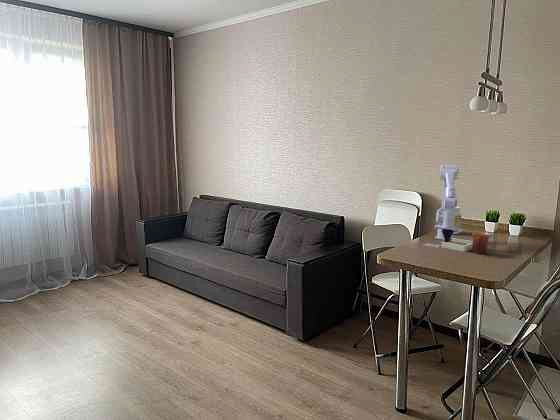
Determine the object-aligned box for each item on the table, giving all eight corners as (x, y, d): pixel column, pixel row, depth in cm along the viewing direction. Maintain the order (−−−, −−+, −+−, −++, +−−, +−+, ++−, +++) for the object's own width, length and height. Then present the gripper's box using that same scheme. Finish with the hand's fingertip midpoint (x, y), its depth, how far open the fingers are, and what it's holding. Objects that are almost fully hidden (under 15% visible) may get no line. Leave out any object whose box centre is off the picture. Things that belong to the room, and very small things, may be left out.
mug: (472, 249, 231) (474, 231, 229) (490, 252, 226) (492, 233, 224) (466, 254, 221) (468, 234, 220) (485, 257, 216) (487, 237, 215)
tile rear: (449, 245, 242) (450, 240, 241) (458, 246, 238) (459, 242, 238) (446, 246, 238) (446, 242, 238) (455, 248, 235) (456, 243, 234)
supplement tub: (462, 234, 270) (465, 208, 268) (443, 234, 270) (446, 207, 267) (454, 230, 282) (457, 205, 280) (436, 230, 282) (438, 205, 280)
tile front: (459, 246, 238) (459, 242, 238) (468, 248, 235) (468, 244, 235) (455, 248, 235) (456, 243, 234) (465, 249, 231) (465, 245, 231)
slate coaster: (426, 244, 243) (427, 243, 243) (441, 246, 239) (441, 245, 239) (422, 246, 237) (422, 245, 237) (437, 249, 232) (437, 247, 232)
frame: (451, 242, 246) (452, 237, 246) (475, 246, 238) (476, 241, 237) (441, 247, 234) (441, 242, 234) (465, 251, 226) (465, 246, 225)
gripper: (433, 217, 240) (431, 241, 242) (459, 221, 230) (457, 246, 232) (438, 216, 245) (436, 239, 247) (464, 220, 236) (461, 244, 238)
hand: (446, 242), depth 240 cm, fingers closed
